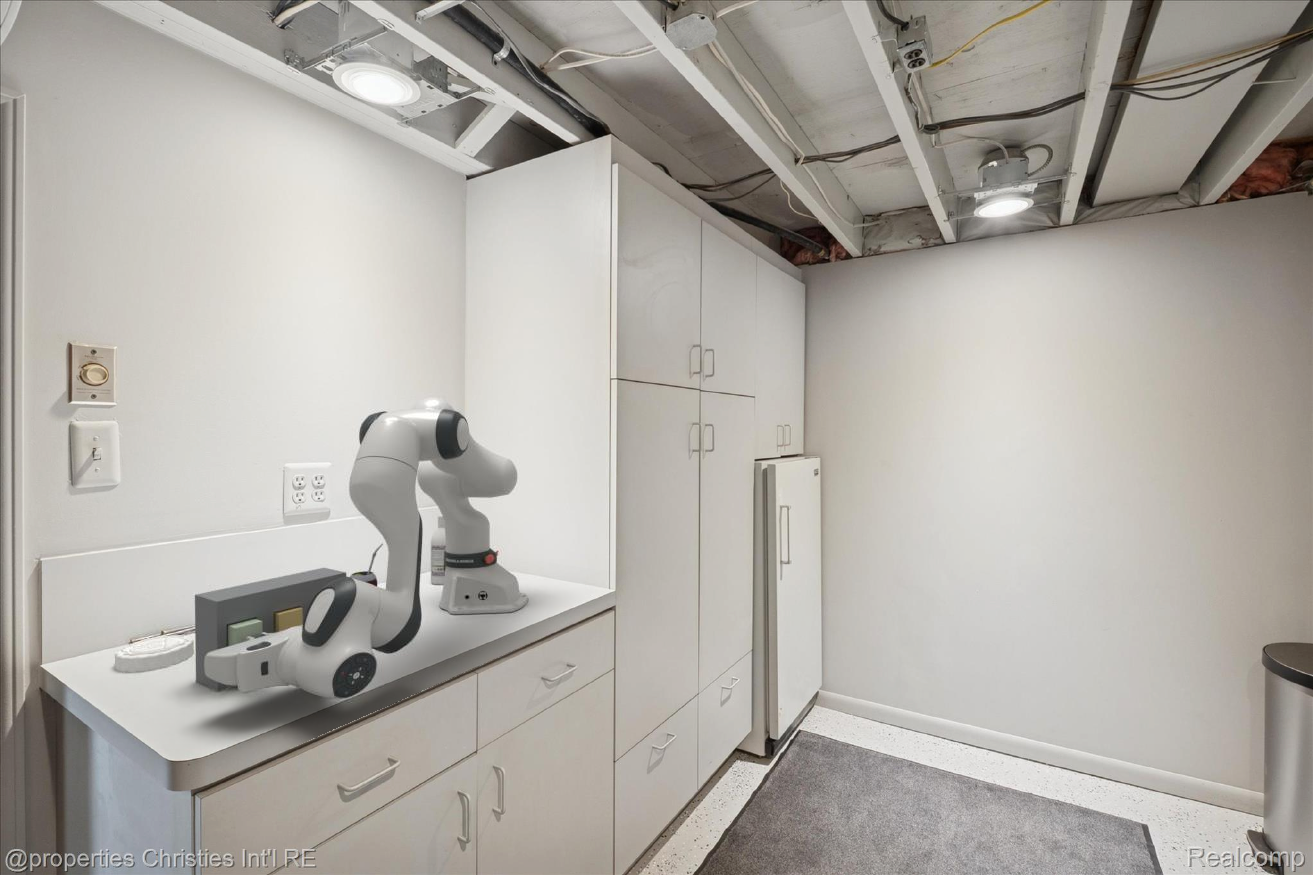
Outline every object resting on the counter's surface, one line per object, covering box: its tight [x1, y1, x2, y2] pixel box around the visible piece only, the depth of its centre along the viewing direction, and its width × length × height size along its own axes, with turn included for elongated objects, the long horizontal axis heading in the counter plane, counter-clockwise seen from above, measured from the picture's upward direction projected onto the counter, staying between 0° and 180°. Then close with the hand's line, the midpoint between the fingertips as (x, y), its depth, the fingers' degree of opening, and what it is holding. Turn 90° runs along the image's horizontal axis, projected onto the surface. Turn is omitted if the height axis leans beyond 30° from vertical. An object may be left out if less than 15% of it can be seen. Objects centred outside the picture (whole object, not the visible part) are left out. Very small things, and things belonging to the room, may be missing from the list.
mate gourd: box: [349, 543, 384, 587], centre depth 157 cm, size 8×8×15 cm
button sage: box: [227, 618, 262, 647], centre depth 108 cm, size 3×4×4 cm
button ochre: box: [274, 607, 303, 633], centre depth 116 cm, size 3×4×4 cm
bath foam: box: [430, 514, 446, 586], centre depth 178 cm, size 7×7×20 cm
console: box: [194, 567, 347, 693], centre depth 118 cm, size 8×24×16 cm, turn 150°
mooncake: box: [114, 634, 195, 674], centre depth 119 cm, size 12×12×4 cm
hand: (254, 639), depth 107 cm, fingers closed
